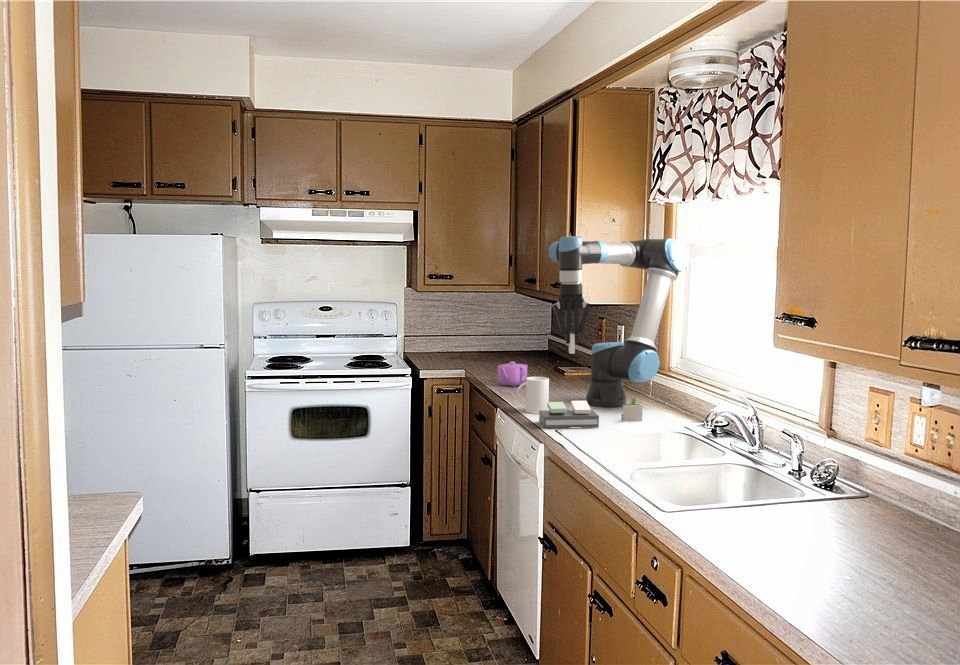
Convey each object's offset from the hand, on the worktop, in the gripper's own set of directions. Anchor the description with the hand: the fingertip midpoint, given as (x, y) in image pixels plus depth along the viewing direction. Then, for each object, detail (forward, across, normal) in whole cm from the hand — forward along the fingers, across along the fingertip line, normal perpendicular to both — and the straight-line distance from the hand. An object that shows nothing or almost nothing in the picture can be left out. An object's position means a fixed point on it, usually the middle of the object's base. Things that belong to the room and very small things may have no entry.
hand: (571, 352), depth 272 cm
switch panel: (+23, +3, +7) cm, 24 cm away
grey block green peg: (+25, -20, +2) cm, 32 cm away
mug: (+23, +11, -15) cm, 30 cm away
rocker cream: (+18, -1, +7) cm, 19 cm away
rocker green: (+18, +7, +7) cm, 20 cm away
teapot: (+25, +11, -69) cm, 74 cm away
